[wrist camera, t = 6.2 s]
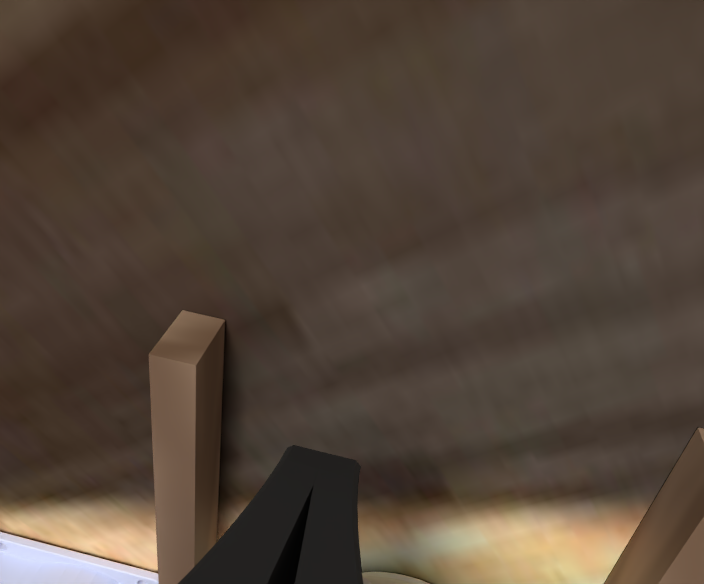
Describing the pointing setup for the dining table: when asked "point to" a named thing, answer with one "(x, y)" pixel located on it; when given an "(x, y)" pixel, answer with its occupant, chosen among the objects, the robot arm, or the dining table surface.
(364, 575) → the teacup
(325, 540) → the robot arm
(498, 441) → the dining table surface
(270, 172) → the dining table surface
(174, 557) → the tray
